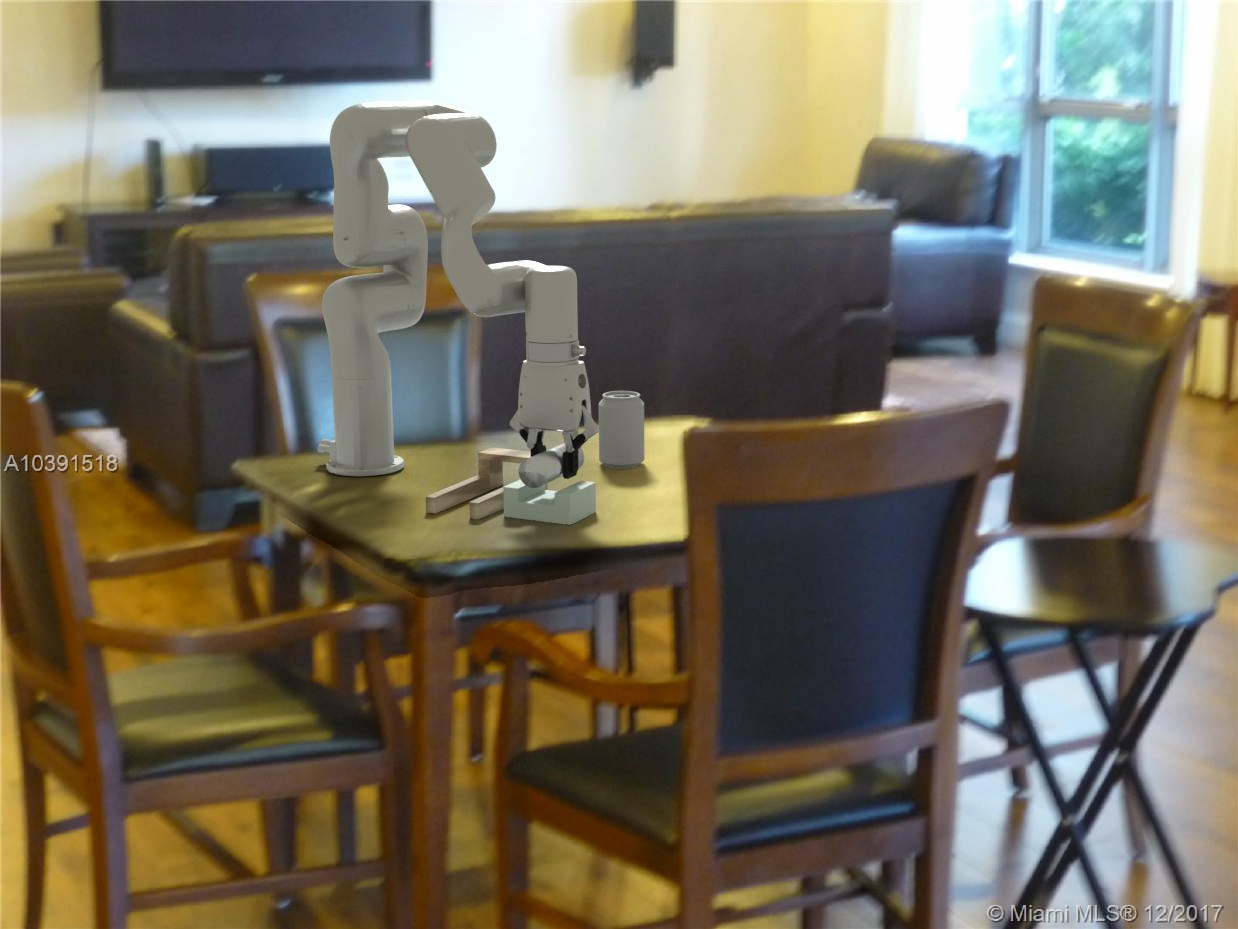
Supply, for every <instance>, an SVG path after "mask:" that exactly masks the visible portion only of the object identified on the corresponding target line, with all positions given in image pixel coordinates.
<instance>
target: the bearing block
mask: <svg viewBox="0 0 1238 929" xmlns="http://www.w3.org/2000/svg"><path fill="white" fill-rule="evenodd" d="M530 457H531V450H530V451H529V450H518V449H511V448H501V447H500V448H499V447H489V448H486V449H483V450H481V451H479V452H477V465H478V466H477V467H478V468H477V469H478V474H477V475H475V476H472V477H469V478H467V479H465V480H463V481H460V482H457V483H456V484H453V485H450V486H448V487H446V488H443V489H440V490H439V491H436V492H434V493H430V494H428V495H426V496H425V514H429V513H436V514H438V512H439V513H441V512H443V511H446V510H448V509H450V508H452V507H455V506H456V505H459V504H461V503H463V502H466V501H468V500H470V499H473V498H475V499H473V500H471V501H468V502H469V504H468V505H469V519H470V518H474V519H473V520H477V519H479V520H481V519H483V518H482V517H484V518H485V517H487V516H490V515H492V514H494V513H497V512H499V511H501V510H504V496H503V487H504V474H503V473H504V470H503V469H504V468H503V467H504V465H503V462H506V463H512V464H513V463H514V464H521V463H522V462H523V461H524V460H525V459H527V458H530ZM548 485H549V483H547V484H545V490H549V489H548V487H549V486H548ZM500 486H503V487H501V488H498V487H500ZM495 488H498V489H495ZM494 489H495V490H494ZM491 490H493V491H491ZM489 491H491V492H489ZM486 492H489V493H486ZM485 493H486V494H485ZM482 494H485V495H482ZM480 495H482V496H480ZM478 496H479V497H478ZM476 497H477V498H476ZM442 510H443V511H442ZM440 511H441V512H440ZM480 518H481V519H480Z"/></svg>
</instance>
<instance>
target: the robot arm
mask: <svg viewBox="0 0 1238 929" xmlns="http://www.w3.org/2000/svg"><path fill="white" fill-rule="evenodd" d="M497 147H498V146H497V138H496V134H495V131H494V129H493V128H492V126H491V124H490V123H489V122H488V121H487V120H486V119H485V118H484V117H483V116H481V115H480V114H478V113H475V112H472V111H468V110H464V109H461V108H456V107H453V106H449V105H445V104H442V103H439V102H435V101H434V102H433V101H428V100H408V101H406V100H405V101H399V100H398V101H393V100H391V101H389V100H388V101H386V100H385V101H369V102H362V103H356V104H353V105H350V106H348V107H346V108H345V109H343V110H342V111H340V113H338V115H337V116H336V117H335V119H334V121H333V123H332V126H331V129H330V132H329V150H330V158H331V159H330V160H331V164H332V170H333V182H334V183H333V186H334V187H333V212H332V213H333V217H332V218H333V222H332V224H333V226H332V235H333V236H332V245H333V251H334V252H333V253H334V255H335V258H336V259H337V261H338V262H339V263H340V264H341V265H343V266H345V267H347V268H354V269H355V268H356V269H357V268H358V269H359V268H360V269H365V268H374V267H382V266H383V268H382V269H383V270H382V271H383V272H375V273H374V272H373V273H372V272H371V273H364V274H355V275H349V276H345V277H341V278H339V279H336V280H335V281H333V282H332V283H330V284H329V285H328V286H327V288H326V289H325V290H324V293H323V295H322V298H321V309H322V310H321V312H322V315H323V316H322V317H323V320H324V324H325V328H326V334H327V336H328V337H327V339H328V345H329V353H330V368H331V370H330V371H331V382H332V383H331V384H332V387H331V388H332V401H333V402H332V407H333V408H332V410H333V430H334V439H326V438H322V439H321V440H319V441H320V442H319V444H318V445H317V452H318V453H320V454H321V453H322V454H329V460H328V461H327V462H326V470H327V471H328V472H329V473H331V474H333V473H334V475H339V476H345V477H373V476H374V477H375V476H382V475H388V474H392V473H396V472H399V471H400V470H403V468H404V466H405V460H404V458H402V457H401V456H399V455H395V445H394V444H395V443H394V442H395V441H394V419H393V415H394V413H393V412H394V411H393V389H392V368H391V367H392V366H391V359H390V357H389V353H388V350H387V349H386V347H385V345H384V344H383V342H382V340H381V339H380V336H379V333H383V332H389V331H397V330H401V329H407V328H410V327H413V326H414V325H416V324H417V323H418V322H419V321H420V320H421V318H422V316H423V314H424V311H425V308H426V302H427V301H426V300H427V284H428V282H427V278H428V277H427V276H428V257H429V256H428V255H429V254H428V253H429V242H428V240H429V239H428V233H427V232H428V231H427V229H426V225H425V222H424V219H423V218H422V217H421V215H420V213H418V212H417V210H416V209H414V208H412V207H410V206H408V205H405V204H389V190H390V189H389V187H390V186H389V180H388V176H387V173H386V172H385V169H384V167H383V165H382V163H381V162H380V161H379V159H381V158H383V159H384V158H407V157H408V158H410V159H411V161H412V162H413V164H414V166H415V168H416V170H417V172H418V174H419V176H420V177H421V179H422V181H423V183H424V185H425V187H426V189H427V190H428V193H429V194H430V195H431V198H432V200H433V201H434V203H435V205H436V206H437V209H438V210H439V213H440V214H441V216H442V218H443V222H444V223H443V228H442V230H441V236H440V255H441V263H442V267H443V271H444V273H445V275H446V278H447V279H448V281H449V283H450V285H451V286H452V288H453V290H454V292H455V294H456V295H457V297H458V299H459V301H460V302H461V303H462V305H463V306H464V307H465V308H466V310H468V311H469V312H470V313H471V314H472V315H473V314H474V315H475V316H476V317H481V318H492V317H493V318H494V317H498V316H505V315H511V314H520V313H525V316H524V317H525V347H526V348H525V351H526V356H525V357H526V359H525V360H522V361H523V362H522V365H521V370H520V376H519V385H518V401H517V402H518V403H517V407H518V408H517V410H516V412H515V413H514V415H513V416H512V418H511V420H510V421H509V426H510V427H511V429H512V430H514V431H516V432H517V433H518V434H519V436H520V437H521V439H523V441H524V442H525V443H526V446H527V448H528V449H530V451H531V457H532V456H535V455H537V454H539V453H542V452H544V451H547V446H546V444H545V445H544V438H545V432H546V431H553V432H561V433H562V436H563V442H564V443H565V447H566V451H565V452H563V455H562V456H563V476H562V478H564V479H567V480H569V479H571V478H574V477H575V476H577V475H578V471H579V469H580V468H579V464H578V449H580V448H581V449H582V446H583V445H584V444H586V442H587V441H588V440H589V439H590V438H592V437H593V436H595V435H596V434H599V425H598V424H597V423H596V422H595V420H594V419H593V416H592V405H591V403H592V402H591V395H590V394H591V392H590V386H589V385H590V384H589V379H588V374H587V370H586V369H587V368H586V365H585V362H584V361H583V360H579V358H580V357H582V356H583V357H585V356H586V354H587V348H586V346H585V345H584V346H581V345H580V340H579V331H578V329H579V328H578V327H579V326H578V325H579V324H578V323H579V322H578V321H579V320H578V318H579V316H578V278H577V274H576V271H575V270H574V269H573V268H572V267H569V266H564V265H546V264H544V263H540V262H538V261H535V260H534V261H533V260H526V259H525V260H516V261H515V260H514V261H504V262H497V263H489V264H486V263H485V261H484V259H483V257H482V255H481V254H480V251H479V250H478V248H477V246H476V244H475V241H474V238H473V232H472V228H473V225H474V224H476V223H477V222H479V221H480V220H481V219H483V218H484V217H485V216H486V215H487V214H488V213H489V212H490V211H491V210H492V208H493V207H494V205H495V203H496V192H495V191H494V189H493V187H492V186H491V184H490V182H489V180H488V177H487V176H486V175H485V173H484V171H483V169H482V168H485V167H487V166H488V165H489V164H490V163H491V162H492V161H493V160H494V158H495V156H496V152H497ZM579 428H584V430H583V431H582V432H581V433H580V431H579ZM564 443H563V444H564ZM578 468H579V469H578Z"/></svg>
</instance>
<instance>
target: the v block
mask: <svg viewBox="0 0 1238 929" xmlns="http://www.w3.org/2000/svg"><path fill="white" fill-rule="evenodd" d="M596 484H597V483H596V482H595V481H585V480H578V481H577V482H574V483H573V484H570V485H568V486H566V487H564V488H562V489H559V490H549V489H548V490H545V484H544V485H542V486H540V487H538V488H530V487H527V486H526V485H525V484H524V483H523V482H522V481H521V479H520V478H519V479H518V480H516V481H514V482H512V483H509V484H507V485H503V496H504V508H503V517H504V518H510V517H511V519H512V518H513V519H518V520H519V519H520V520H528V521H534V520H535V521H536V522H541V523H543V522H544V523H551V524H559V525H561V524H562V525H566V524H567V526H572V525H573V524H575V523H577V522H580V521H581V520H583V519H586V518H587V517H589V516H591V515H593V514H595V513H596V512H597V506H596V505H597V502H596V500H597V498H596V496H597V494H596V490H597V489H596V486H597V485H596ZM571 524H572V525H571Z"/></svg>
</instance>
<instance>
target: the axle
mask: <svg viewBox="0 0 1238 929" xmlns="http://www.w3.org/2000/svg"><path fill="white" fill-rule="evenodd" d="M565 451H566V447H565V443H561V444H559V445H557V446H554V447H552V448H550V449H546V451H544V452H542V453H539V454H537V455H535V456H532V457H530V458H527V459H525V460H524V461H523V462H522V463H519V464H520V465H519V467H518V476H519V480H520V479H521V481H522V482H523V483H524V484H525V485H526V486H527V487H530V488H538V487H540V486H542V485H544V484H547V483H548V484H549V483H551V482H553V481H555V480H558V479H560V478H563V456H562V455H563V452H565ZM584 463H585V453H584V451H583V449H582V447H581V448H580V449H578V464H579V468H578V470H579V469H581V468H582V466H583V465H584Z"/></svg>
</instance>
